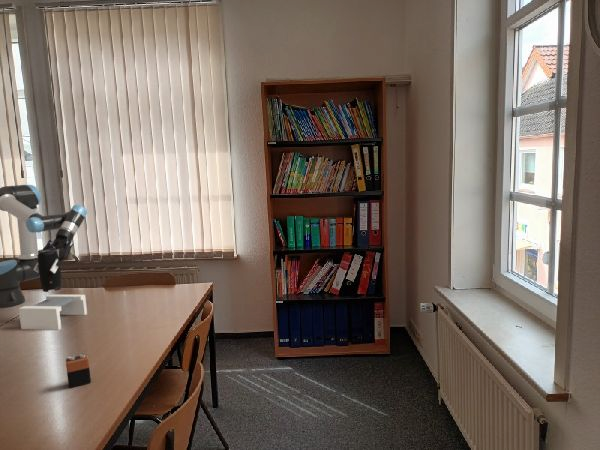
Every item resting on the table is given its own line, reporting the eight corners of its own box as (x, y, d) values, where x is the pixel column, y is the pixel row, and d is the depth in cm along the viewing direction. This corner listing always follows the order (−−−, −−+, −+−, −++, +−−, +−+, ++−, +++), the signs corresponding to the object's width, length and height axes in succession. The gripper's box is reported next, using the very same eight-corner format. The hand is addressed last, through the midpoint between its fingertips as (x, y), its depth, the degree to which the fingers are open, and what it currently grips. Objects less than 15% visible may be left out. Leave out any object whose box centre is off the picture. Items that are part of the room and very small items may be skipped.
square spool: (52, 313, 237) (50, 294, 236) (87, 313, 234) (85, 294, 233) (21, 329, 215) (18, 308, 214) (58, 329, 213) (56, 308, 211)
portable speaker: (58, 291, 219) (53, 251, 216) (37, 293, 218) (32, 252, 215) (66, 286, 227) (61, 247, 224) (46, 287, 226) (41, 248, 224)
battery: (68, 383, 159) (65, 356, 158) (89, 378, 163) (86, 351, 161) (69, 388, 156) (65, 360, 154) (91, 383, 159) (88, 355, 158)
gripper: (89, 237, 230) (67, 276, 218) (54, 236, 237) (31, 274, 225) (79, 228, 224) (57, 268, 212) (44, 227, 231) (20, 266, 219)
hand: (44, 271), depth 218 cm, fingers closed on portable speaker, 9 cm apart
